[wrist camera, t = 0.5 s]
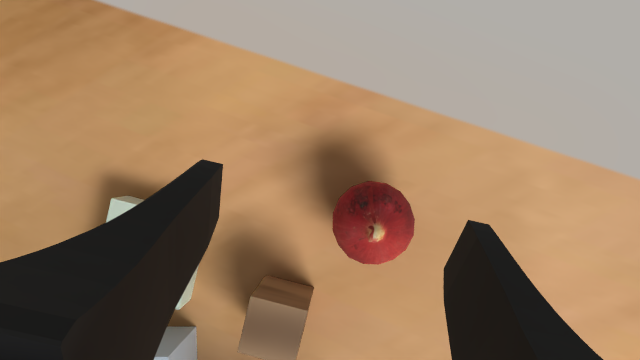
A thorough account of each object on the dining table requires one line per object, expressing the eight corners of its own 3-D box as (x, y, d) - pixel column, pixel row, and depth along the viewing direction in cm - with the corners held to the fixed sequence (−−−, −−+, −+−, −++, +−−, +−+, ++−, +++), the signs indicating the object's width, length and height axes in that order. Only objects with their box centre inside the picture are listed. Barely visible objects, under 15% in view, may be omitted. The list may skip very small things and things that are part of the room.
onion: (324, 193, 37) (317, 201, 29) (393, 170, 37) (406, 172, 29) (347, 262, 37) (347, 289, 29) (417, 239, 37) (436, 261, 29)
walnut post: (302, 334, 38) (293, 367, 32) (254, 322, 38) (237, 352, 32) (314, 287, 38) (307, 310, 32) (265, 274, 38) (250, 296, 32)
